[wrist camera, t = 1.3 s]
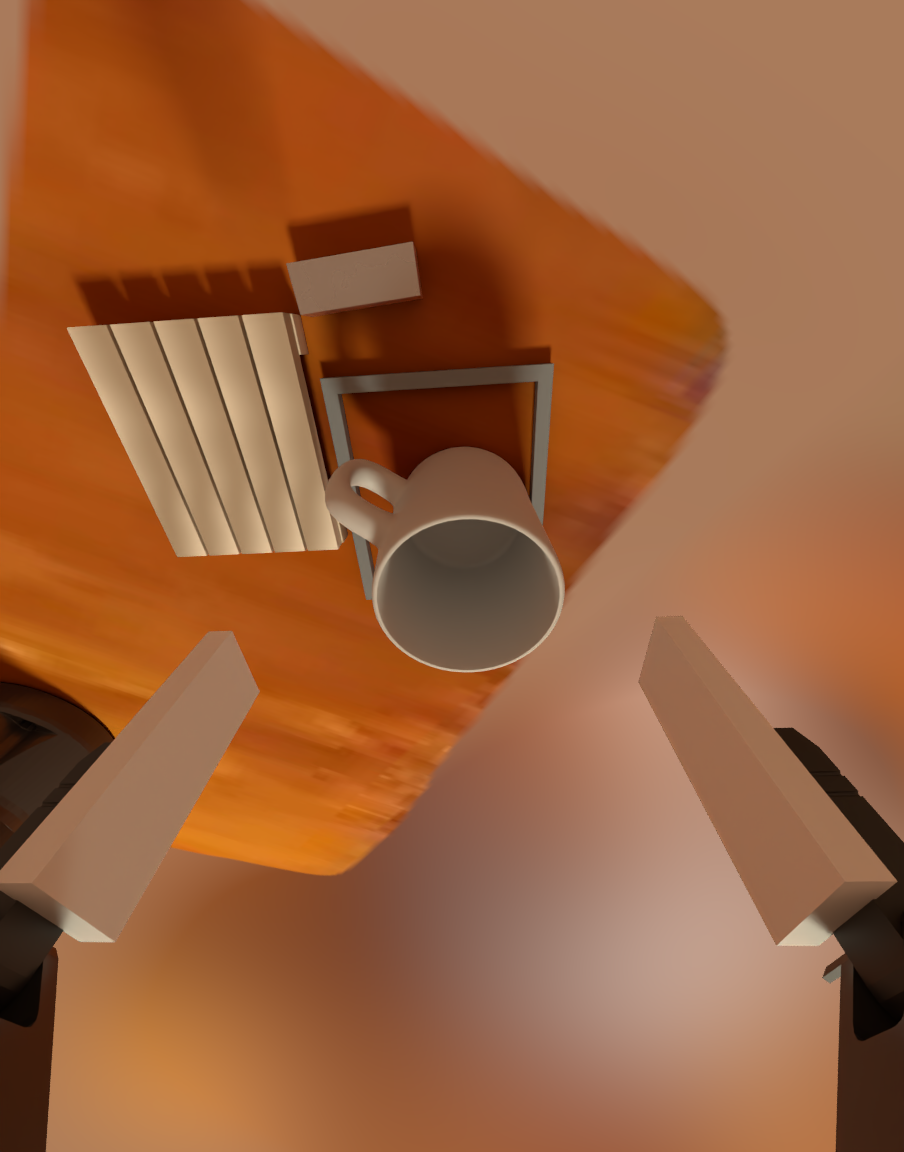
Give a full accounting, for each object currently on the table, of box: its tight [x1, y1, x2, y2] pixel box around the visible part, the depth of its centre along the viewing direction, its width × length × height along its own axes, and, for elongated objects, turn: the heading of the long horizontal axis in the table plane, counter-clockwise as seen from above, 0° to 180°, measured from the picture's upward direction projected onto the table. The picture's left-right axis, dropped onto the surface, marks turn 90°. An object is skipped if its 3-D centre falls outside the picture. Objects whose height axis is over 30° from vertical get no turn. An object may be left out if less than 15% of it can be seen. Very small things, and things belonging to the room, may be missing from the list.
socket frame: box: [320, 363, 554, 600], centre depth 25 cm, size 13×15×1 cm
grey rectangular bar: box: [287, 242, 423, 317], centre depth 19 cm, size 6×2×2 cm, turn 97°
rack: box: [67, 312, 348, 557], centre depth 23 cm, size 11×13×2 cm
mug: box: [325, 447, 565, 672], centre depth 21 cm, size 12×8×11 cm
